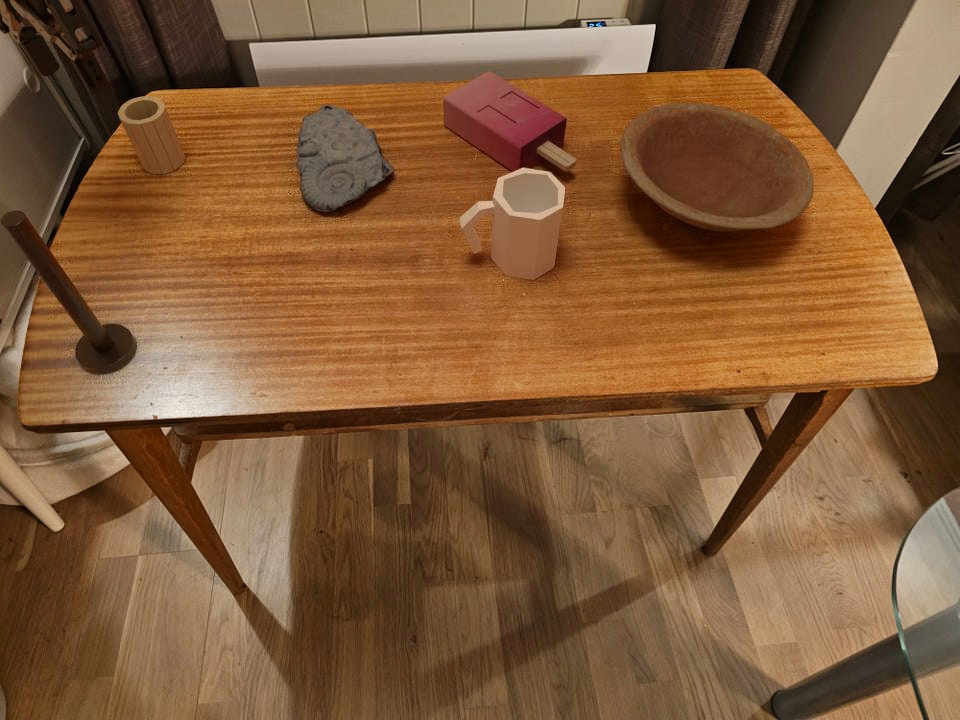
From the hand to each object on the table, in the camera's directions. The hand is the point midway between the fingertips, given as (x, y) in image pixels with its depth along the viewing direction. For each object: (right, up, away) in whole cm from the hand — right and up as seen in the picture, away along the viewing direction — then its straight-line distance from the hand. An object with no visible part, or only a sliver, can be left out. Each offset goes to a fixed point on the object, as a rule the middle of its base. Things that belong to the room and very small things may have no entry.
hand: (74, 80), depth 76 cm
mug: (+47, -17, +11) cm, 51 cm away
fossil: (+25, -4, +20) cm, 32 cm away
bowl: (+72, -9, +17) cm, 75 cm away
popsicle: (+48, 0, +23) cm, 54 cm away
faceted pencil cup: (0, -3, +20) cm, 20 cm away
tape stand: (+2, -29, +2) cm, 29 cm away
